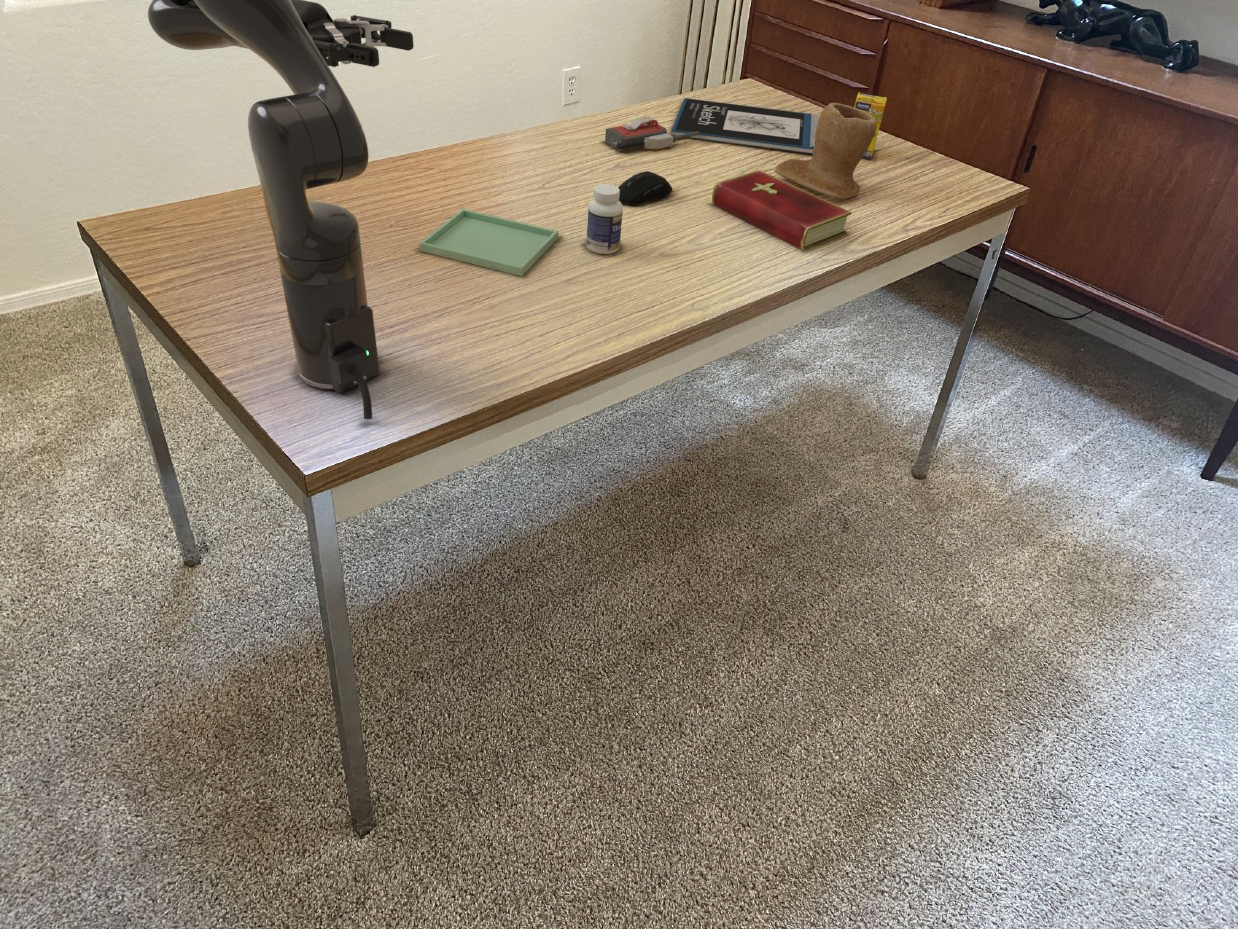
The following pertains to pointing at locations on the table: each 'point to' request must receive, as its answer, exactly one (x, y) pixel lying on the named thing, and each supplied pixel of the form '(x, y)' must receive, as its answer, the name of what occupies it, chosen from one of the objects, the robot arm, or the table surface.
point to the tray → (490, 241)
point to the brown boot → (834, 152)
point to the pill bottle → (604, 220)
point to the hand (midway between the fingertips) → (395, 49)
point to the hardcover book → (780, 209)
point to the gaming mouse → (644, 188)
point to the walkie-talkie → (642, 135)
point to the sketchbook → (747, 125)
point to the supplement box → (874, 108)
